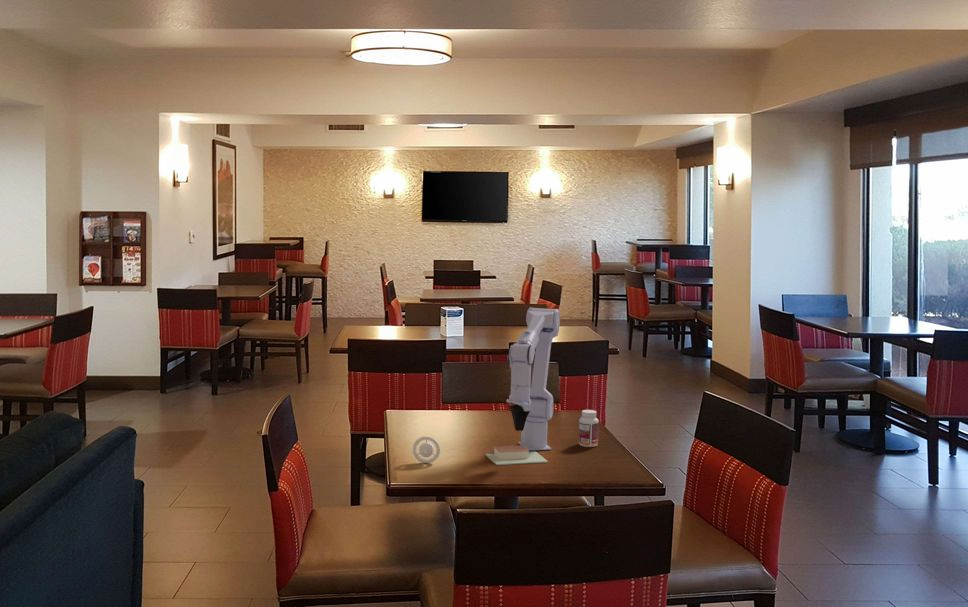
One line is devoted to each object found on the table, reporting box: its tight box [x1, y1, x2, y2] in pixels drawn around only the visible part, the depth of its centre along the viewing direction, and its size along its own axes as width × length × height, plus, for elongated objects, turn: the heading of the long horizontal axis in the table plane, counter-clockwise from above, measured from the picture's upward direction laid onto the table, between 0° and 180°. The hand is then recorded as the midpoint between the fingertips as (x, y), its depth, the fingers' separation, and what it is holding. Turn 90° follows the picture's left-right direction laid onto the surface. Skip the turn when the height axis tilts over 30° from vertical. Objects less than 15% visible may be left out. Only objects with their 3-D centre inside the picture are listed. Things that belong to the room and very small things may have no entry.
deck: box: [493, 444, 530, 460], centre depth 271 cm, size 2×9×6 cm
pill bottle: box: [578, 409, 600, 448], centre depth 288 cm, size 6×6×11 cm
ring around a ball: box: [412, 436, 441, 464], centre depth 261 cm, size 8×6×8 cm
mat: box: [485, 451, 549, 466], centre depth 270 cm, size 11×16×1 cm
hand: (519, 430), depth 264 cm, fingers closed
